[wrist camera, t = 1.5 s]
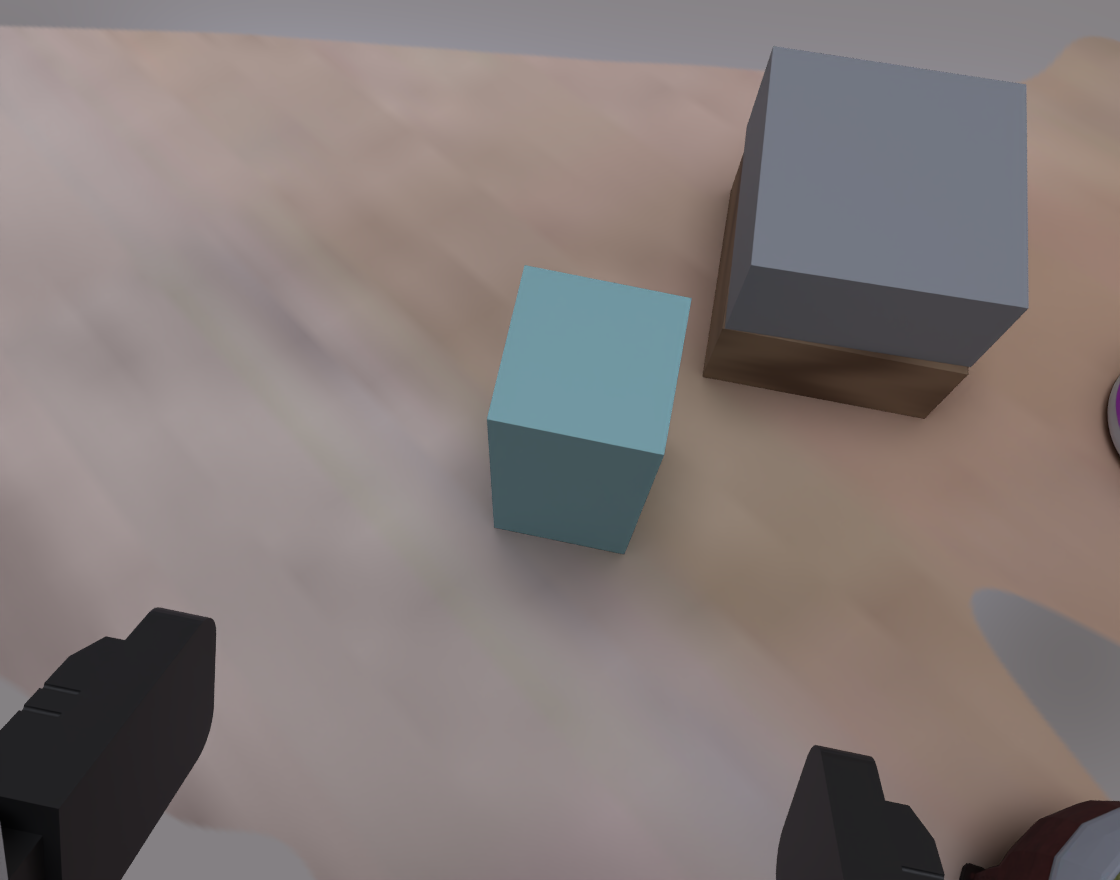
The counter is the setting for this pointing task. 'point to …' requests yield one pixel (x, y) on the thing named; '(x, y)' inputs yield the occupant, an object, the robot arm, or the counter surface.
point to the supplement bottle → (1115, 414)
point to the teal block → (582, 407)
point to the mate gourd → (1063, 847)
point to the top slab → (882, 208)
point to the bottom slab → (818, 358)
